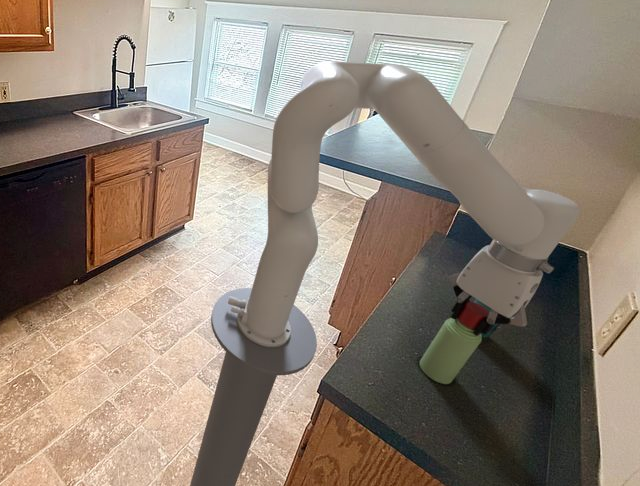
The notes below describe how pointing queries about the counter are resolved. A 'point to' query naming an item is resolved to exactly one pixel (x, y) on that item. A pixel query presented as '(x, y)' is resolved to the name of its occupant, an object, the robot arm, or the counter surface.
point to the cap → (472, 315)
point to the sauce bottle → (449, 351)
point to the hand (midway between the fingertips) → (467, 324)
